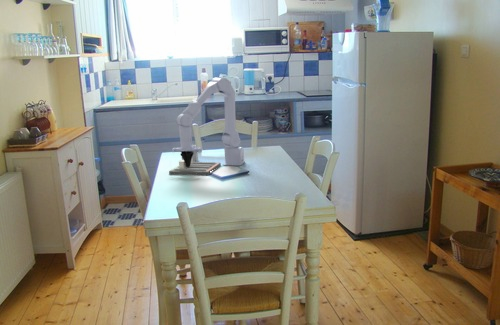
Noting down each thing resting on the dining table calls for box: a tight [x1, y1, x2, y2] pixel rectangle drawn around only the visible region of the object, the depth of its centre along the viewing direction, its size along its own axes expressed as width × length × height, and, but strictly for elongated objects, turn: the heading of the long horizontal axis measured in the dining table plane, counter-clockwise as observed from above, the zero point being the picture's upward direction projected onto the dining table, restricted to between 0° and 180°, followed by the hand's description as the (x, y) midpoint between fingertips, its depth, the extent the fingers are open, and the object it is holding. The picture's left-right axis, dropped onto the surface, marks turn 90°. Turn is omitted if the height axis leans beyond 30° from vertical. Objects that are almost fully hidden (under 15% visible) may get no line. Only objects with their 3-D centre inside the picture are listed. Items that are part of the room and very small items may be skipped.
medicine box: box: [181, 144, 199, 162], centre depth 244 cm, size 8×4×9 cm, turn 84°
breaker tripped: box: [178, 159, 187, 169], centre depth 223 cm, size 2×4×4 cm, turn 165°
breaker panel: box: [168, 161, 222, 176], centre depth 226 cm, size 20×18×2 cm
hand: (188, 166), depth 223 cm, fingers closed
